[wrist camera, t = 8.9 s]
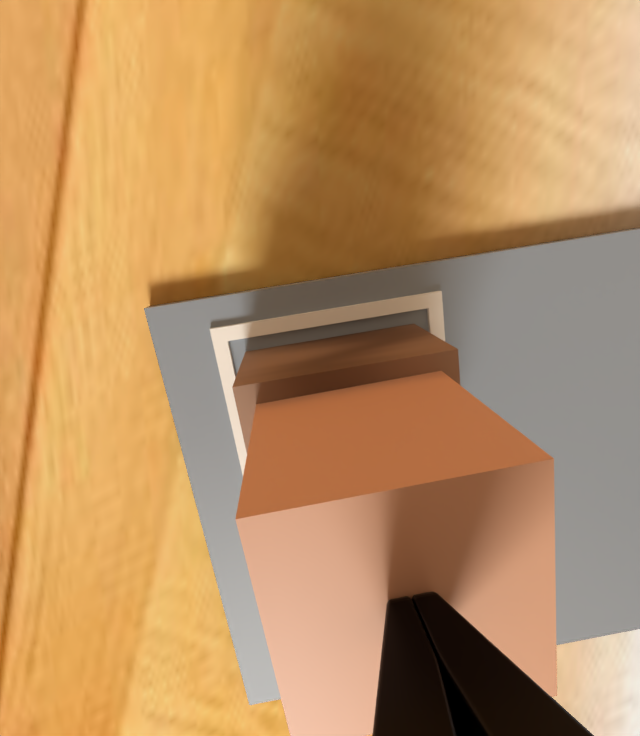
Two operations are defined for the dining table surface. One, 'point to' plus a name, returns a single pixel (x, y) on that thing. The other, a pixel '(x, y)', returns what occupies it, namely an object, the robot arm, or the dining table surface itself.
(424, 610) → the robot arm
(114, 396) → the dining table surface
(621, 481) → the slate board
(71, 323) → the dining table surface
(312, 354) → the walnut block
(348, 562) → the terracotta block
